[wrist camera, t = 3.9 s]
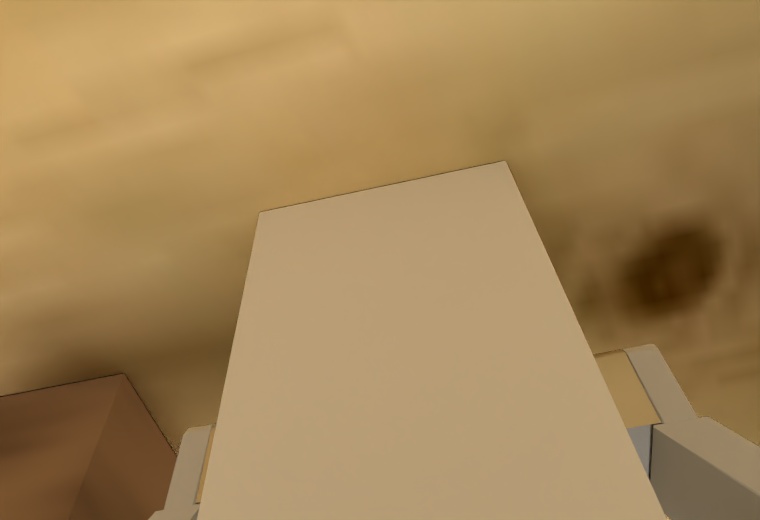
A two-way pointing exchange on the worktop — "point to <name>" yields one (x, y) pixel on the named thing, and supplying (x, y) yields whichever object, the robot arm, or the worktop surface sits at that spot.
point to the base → (82, 454)
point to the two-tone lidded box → (415, 369)
